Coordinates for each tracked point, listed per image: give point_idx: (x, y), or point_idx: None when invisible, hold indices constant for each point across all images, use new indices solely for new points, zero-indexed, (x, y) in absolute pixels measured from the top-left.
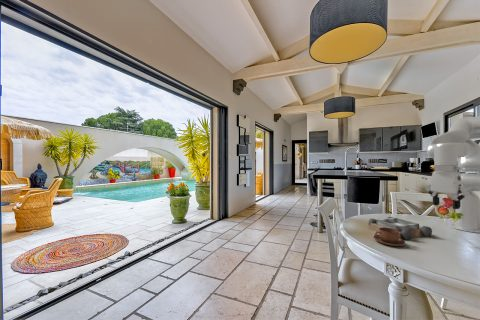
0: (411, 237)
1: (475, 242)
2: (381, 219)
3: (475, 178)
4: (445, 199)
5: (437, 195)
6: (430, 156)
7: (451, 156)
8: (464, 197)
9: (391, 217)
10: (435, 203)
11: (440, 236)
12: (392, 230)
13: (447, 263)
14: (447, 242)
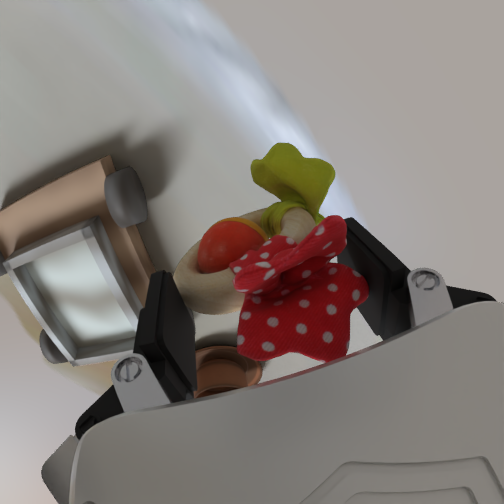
0: None
1: (222, 22)
2: (58, 346)
3: None
4: (273, 334)
5: (158, 380)
6: None
7: None
8: (477, 300)
9: None
10: (192, 335)
11: (132, 116)
12: (207, 384)
13: (357, 315)
14: (214, 158)
